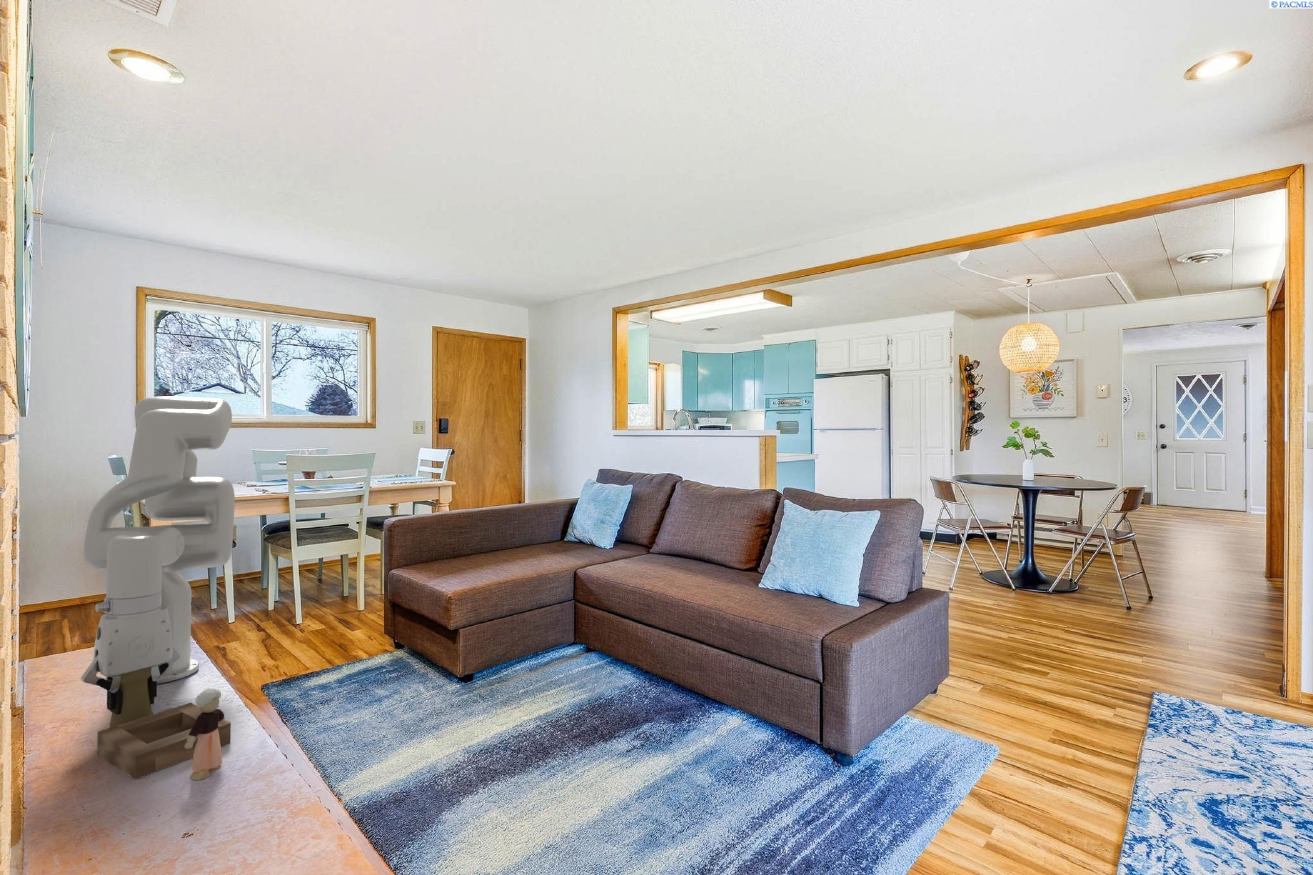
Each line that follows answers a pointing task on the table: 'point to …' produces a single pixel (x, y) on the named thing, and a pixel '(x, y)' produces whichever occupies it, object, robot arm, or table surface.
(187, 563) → the robot arm
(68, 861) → the table surface
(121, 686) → the cork
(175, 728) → the socket block
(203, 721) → the grandmother figurine
